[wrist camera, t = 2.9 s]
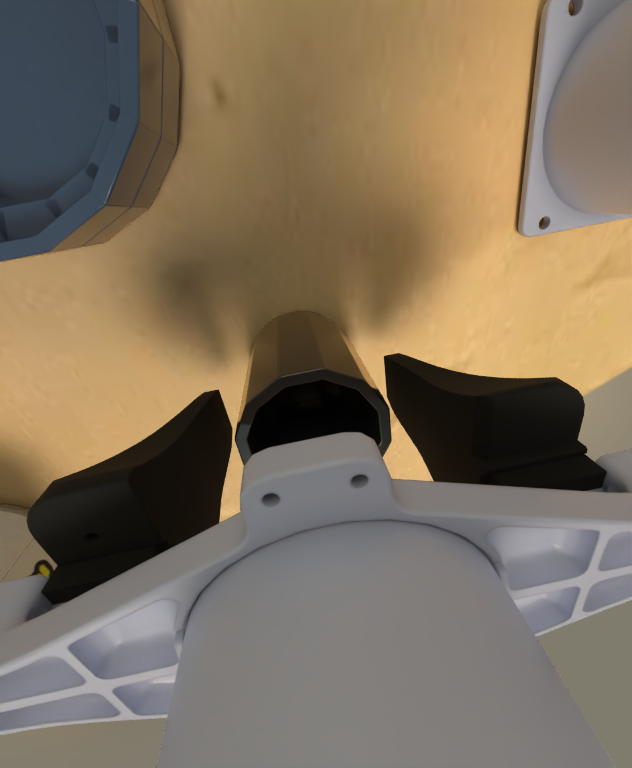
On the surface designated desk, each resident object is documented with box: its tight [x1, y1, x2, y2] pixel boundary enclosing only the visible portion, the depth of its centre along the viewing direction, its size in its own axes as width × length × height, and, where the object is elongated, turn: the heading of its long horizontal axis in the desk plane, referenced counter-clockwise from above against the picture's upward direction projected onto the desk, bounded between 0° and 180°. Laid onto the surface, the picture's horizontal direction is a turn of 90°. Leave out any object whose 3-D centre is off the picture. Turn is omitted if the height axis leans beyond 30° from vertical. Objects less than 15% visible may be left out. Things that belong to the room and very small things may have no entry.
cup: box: [235, 311, 392, 466], centre depth 14 cm, size 5×5×7 cm
